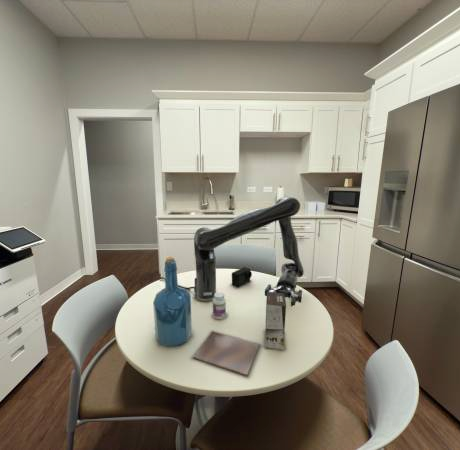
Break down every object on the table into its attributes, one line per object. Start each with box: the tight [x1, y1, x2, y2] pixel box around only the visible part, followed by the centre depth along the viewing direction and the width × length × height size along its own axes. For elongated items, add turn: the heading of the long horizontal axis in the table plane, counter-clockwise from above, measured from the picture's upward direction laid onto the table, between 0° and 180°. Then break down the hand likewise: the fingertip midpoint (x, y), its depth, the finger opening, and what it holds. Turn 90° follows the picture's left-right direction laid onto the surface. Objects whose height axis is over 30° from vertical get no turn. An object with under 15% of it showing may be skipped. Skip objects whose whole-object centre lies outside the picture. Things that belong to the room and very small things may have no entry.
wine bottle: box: [152, 256, 193, 347], centre depth 88 cm, size 14×13×30 cm
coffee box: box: [264, 292, 287, 350], centre depth 86 cm, size 9×6×16 cm
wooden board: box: [193, 331, 260, 377], centre depth 83 cm, size 18×14×1 cm
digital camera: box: [231, 266, 253, 288], centre depth 131 cm, size 10×5×7 cm, turn 136°
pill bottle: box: [212, 291, 227, 320], centre depth 102 cm, size 5×5×10 cm
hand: (280, 301), depth 94 cm, fingers open, 8 cm apart
